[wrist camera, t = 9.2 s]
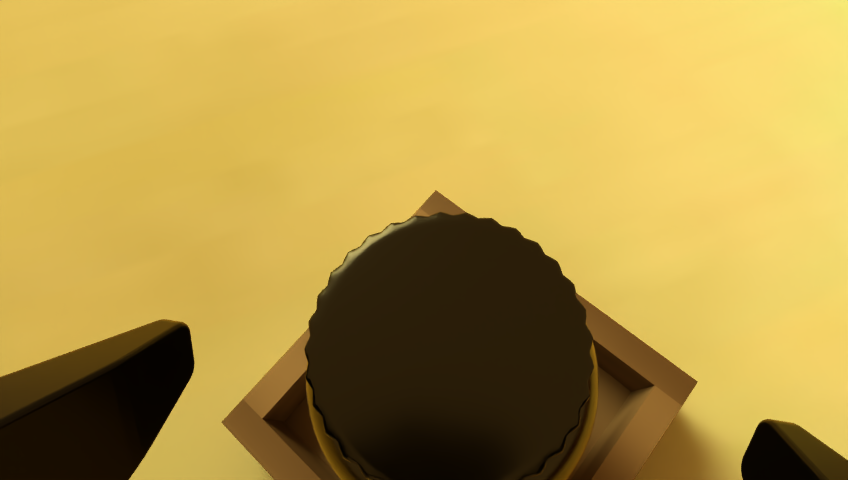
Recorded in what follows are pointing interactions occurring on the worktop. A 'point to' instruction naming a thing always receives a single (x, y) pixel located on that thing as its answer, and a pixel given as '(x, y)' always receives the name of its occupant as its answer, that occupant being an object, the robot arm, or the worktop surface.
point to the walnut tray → (599, 465)
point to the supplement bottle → (451, 357)
